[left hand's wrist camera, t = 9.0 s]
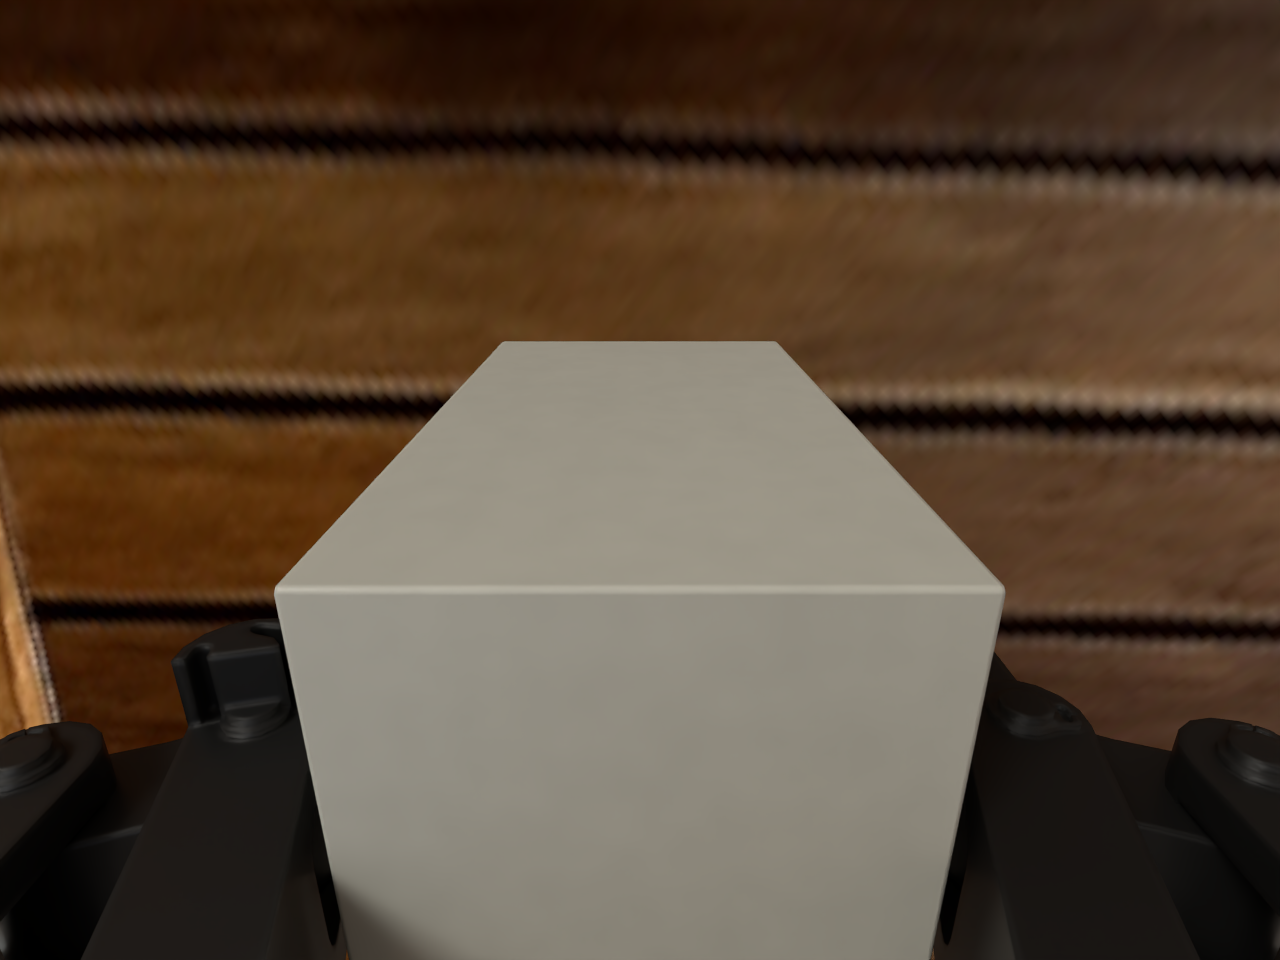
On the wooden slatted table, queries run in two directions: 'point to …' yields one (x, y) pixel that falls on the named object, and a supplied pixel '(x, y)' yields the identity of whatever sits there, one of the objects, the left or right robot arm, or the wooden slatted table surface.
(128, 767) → the left robot arm
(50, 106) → the wooden slatted table surface
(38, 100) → the wooden slatted table surface
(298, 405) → the wooden slatted table surface
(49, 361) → the wooden slatted table surface
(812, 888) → the grey bar
